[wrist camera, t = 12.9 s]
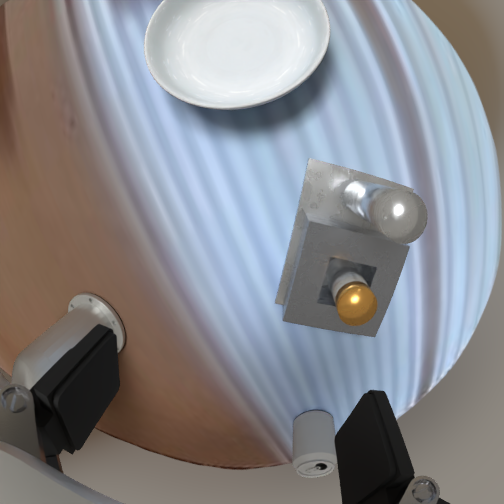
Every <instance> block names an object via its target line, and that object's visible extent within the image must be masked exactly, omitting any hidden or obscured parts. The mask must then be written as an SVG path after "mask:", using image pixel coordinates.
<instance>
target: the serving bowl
mask: <svg viewBox="0 0 504 504" xmlns="http://www.w3.org/2000/svg"><path fill="white" fill-rule="evenodd" d="M329 40H330V22H329V17H328V14H327V11H326V9H325V7H324V5H323V3H322V1H321V0H163V1H162V3H161V4H160V5H159V6H158V8H157V9H156V10H155V12H154V14H153V15H152V17H151V19H150V22H149V24H148V27H147V30H146V34H145V40H144V54H145V59H146V63H147V66H148V68H149V71H150V73H151V74H152V76H153V78H154V79H155V80H156V82H157V83H158V84H159V85H160V86H161V87H162V88H163V89H164V90H166V91H167V92H168V93H169V94H171V95H172V96H174V97H176V98H178V99H180V100H182V101H184V102H186V103H189V104H192V105H195V106H199V107H204V108H210V109H218V110H237V109H246V108H251V107H256V106H260V105H263V104H266V103H269V102H272V101H274V100H277V99H279V98H281V97H283V96H285V95H286V94H288V93H290V92H291V91H293V90H294V89H296V88H297V87H298V86H300V85H301V84H302V83H303V82H304V81H305V80H307V79H308V78H309V77H310V75H311V74H312V73H313V72H314V71H315V70H316V68H317V67H318V66H319V64H320V63H321V61H322V59H323V57H324V55H325V53H326V51H327V48H328V44H329Z"/></svg>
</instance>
